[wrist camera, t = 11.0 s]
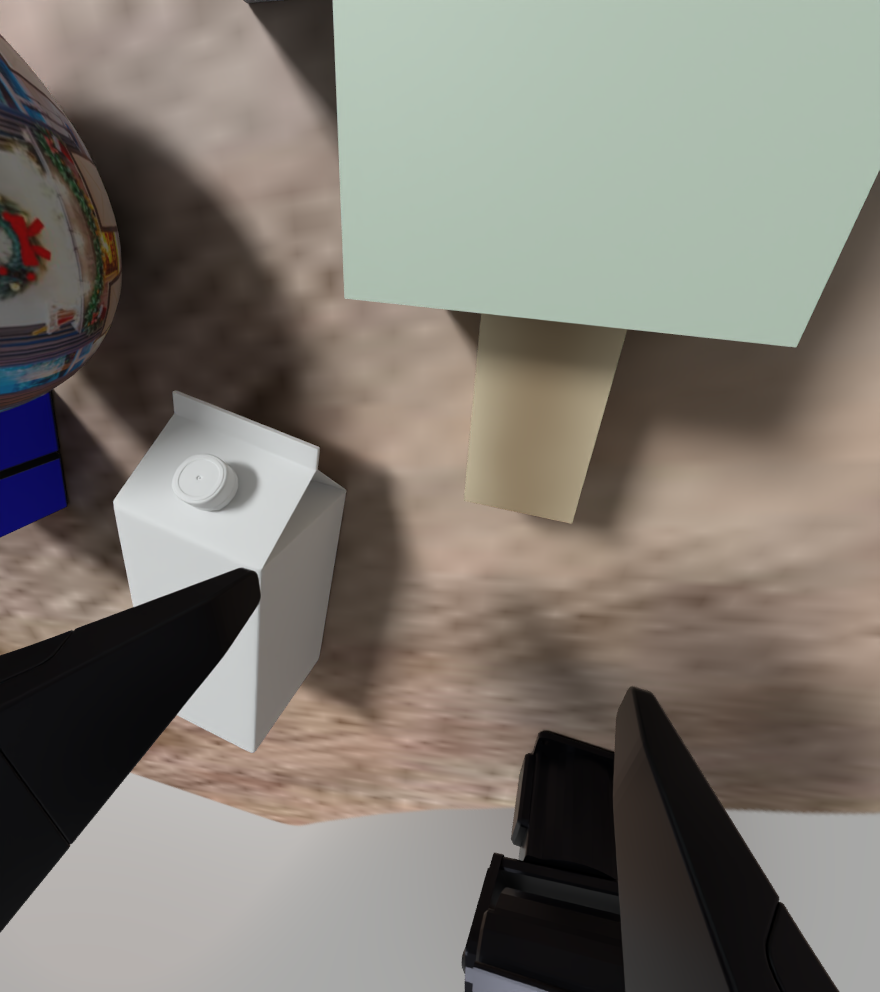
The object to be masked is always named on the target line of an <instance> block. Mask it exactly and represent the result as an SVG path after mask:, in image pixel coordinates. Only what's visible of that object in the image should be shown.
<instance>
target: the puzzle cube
mask: <svg viewBox="0 0 880 992" xmlns="http://www.w3.org/2000/svg"><path fill="white" fill-rule="evenodd" d="M58 450H59V442H58V436H57V429H56V422H55V416H54V409H53V402H52V396H51V391H49V392H48V393H46V394H45V395H43V396H40V397H38V398H36V399H34V400H32V401H30V402H28V403H26V404H23V405H21V406H18V407H15V408H13V409H10V410H7V411H3V412H0V537H2V536H4V535H7V534H9V533H11V532H13V531H15V530H17V529H20V528H22V527H24V526H26V525H28V524H30V523H33V522H35V521H37V520H39V519H41V518H43V517H46V516H48V515H50V514H52V513H54V512H56V511H59V510H61V509H63V508H65V507H67V504H68V503H67V496H66V489H65V483H64V476H63V470H62V463H61V456H60V454H59V453H57V452H56V451H58Z"/></svg>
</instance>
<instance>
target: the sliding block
mask: <svg viewBox="0 0 880 992" xmlns="http://www.w3.org/2000/svg"><path fill="white" fill-rule="evenodd" d="M333 23H334V47H335V72H336V97H337V122H338V147H339V172H340V197H341V222H342V247H343V272H344V297H345V298H346V299H355V300H364V301H373V302H382V303H392V304H401V305H410V306H419V307H428V308H438V309H447V310H456V311H465V312H474V313H484V314H493V315H502V316H511V317H520V318H530V319H539V320H548V321H557V322H566V323H576V324H585V325H594V326H603V327H613V328H622V329H631V330H640V331H649V332H659V333H668V334H677V335H686V336H695V337H705V338H714V339H723V340H732V341H741V342H751V343H760V344H769V345H778V346H787V347H797V345H798V343H799V341H800V338H801V336H802V334H803V332H804V330H805V328H806V326H807V323H808V321H809V319H810V317H811V315H812V313H813V311H814V309H815V306H816V304H817V302H818V300H819V298H820V296H821V294H822V291H823V289H824V287H825V285H826V283H827V281H828V279H829V277H830V274H831V272H832V270H833V268H834V266H835V264H836V262H837V259H838V257H839V255H840V253H841V251H842V249H843V247H844V245H845V242H846V240H847V238H848V236H849V234H850V232H851V230H852V228H853V225H854V223H855V221H856V219H857V217H858V215H859V213H860V210H861V208H862V206H863V204H864V202H865V200H866V198H867V196H868V193H869V191H870V189H871V187H872V185H873V183H874V181H875V178H876V176H877V174H878V172H879V170H880V0H333Z"/></svg>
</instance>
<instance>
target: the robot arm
mask: <svg viewBox="0 0 880 992" xmlns="http://www.w3.org/2000/svg"><path fill="white" fill-rule="evenodd" d="M260 599H261V591H260V585H259V578H258V574H257V573H256V572H255V571H253V570H250V569H247V568H242V567H241V568H237V569H234V570H232V571H229V572H226V573H224V574H221V575H218V576H216V577H213V578H210V579H208V580H205V581H202V582H200V583H197V584H194V585H192V586H189V587H186V588H184V589H181V590H178V591H175V592H173V593H170V594H167V595H165V596H162V597H159V598H157V599H154V600H151V601H149V602H146V603H143V604H141V605H138V606H135V607H133V608H130V609H127V610H125V611H122V612H119V613H117V614H114V615H111V616H108V617H106V618H103V619H100V620H98V621H95V622H92V623H90V624H87V625H84V626H82V627H79V628H77V629H75V630H74V631H73V630H71V631H68V632H65V633H63V634H60V635H57V636H55V637H52V638H49V639H47V640H44V641H41V642H38V643H35V644H33V645H30V646H27V647H24V648H21V649H18V650H15V651H12V652H9V653H6V654H3V655H0V932H1V931H2V930H3V929H4V927H5V926H6V925H7V924H8V923H9V921H10V920H11V919H12V918H13V916H14V915H15V914H16V913H17V911H18V910H19V909H20V908H21V906H22V905H23V904H24V903H25V901H26V900H27V899H28V898H29V897H30V895H31V894H32V893H33V891H34V890H35V889H36V888H37V887H38V886H39V884H40V883H41V882H42V881H43V879H44V878H45V877H46V876H47V874H48V873H49V872H50V871H51V870H52V868H53V867H54V866H55V865H56V863H57V862H58V861H59V860H60V858H61V857H62V856H63V855H64V854H65V852H66V851H67V850H68V849H69V847H70V844H72V843H73V842H74V841H75V840H76V838H77V837H78V836H79V835H80V833H81V832H82V831H83V830H84V828H85V827H86V826H87V825H88V823H89V822H90V821H91V820H92V819H93V817H94V816H95V815H96V814H97V812H98V811H99V810H100V809H101V808H102V806H103V805H104V804H105V803H106V801H107V800H108V799H109V797H110V796H111V795H112V794H113V793H114V791H115V790H116V789H117V788H118V787H119V785H120V784H121V783H122V782H123V780H124V779H125V778H126V777H127V775H128V774H129V773H130V772H131V771H132V769H133V768H134V767H135V766H136V764H137V763H138V762H139V761H140V759H141V758H142V757H143V756H144V755H145V753H146V752H147V751H148V750H149V748H150V747H151V746H152V745H153V743H154V742H155V741H156V740H157V738H158V737H159V736H160V735H161V734H162V732H163V731H164V730H165V729H166V727H167V726H168V725H169V724H170V722H171V721H172V720H173V719H174V718H175V716H176V715H177V714H178V713H179V711H180V710H181V709H182V708H183V706H184V705H185V704H186V703H187V701H188V700H189V699H190V698H191V697H192V695H193V694H194V693H195V692H196V690H197V689H198V688H199V687H200V685H201V684H202V683H203V682H204V681H205V679H206V678H207V677H208V676H209V674H210V673H211V672H212V671H213V669H214V668H215V667H216V666H217V664H218V663H219V662H220V661H221V659H222V658H223V657H224V655H225V654H226V653H227V651H228V650H229V648H230V647H231V645H232V644H233V642H234V641H235V639H236V638H237V636H238V635H239V633H240V632H241V630H242V629H243V627H244V626H245V624H246V623H247V621H248V620H249V618H250V617H251V615H252V614H253V612H254V611H255V609H256V608H257V606H258V604H259V602H260ZM511 840H512V842H513V844H514V845H517V846H520V853H519V860H517V859H512V858H508V857H504V855H503V854H498V853H494V854H493V857H492V861H491V864H490V868H488V870H487V873H486V877H485V880H484V884H483V887H482V891H481V894H480V898H479V901H478V905H477V908H476V912H475V915H474V919H473V922H472V926H471V929H470V933H469V937H468V940H467V944H466V947H465V950H464V952H463V955H462V968H463V971H464V973H465V992H839V990H838V989H837V987H836V986H835V985H834V983H833V981H832V980H831V978H830V977H829V975H828V974H827V972H826V970H825V969H824V967H823V966H822V964H821V963H820V961H819V960H818V958H817V956H816V955H815V953H814V952H813V950H812V949H811V947H810V945H809V944H808V942H807V941H806V939H805V938H804V936H803V935H802V933H801V931H800V930H799V928H798V926H797V925H796V923H795V922H794V920H793V918H792V917H791V915H790V914H789V912H788V910H787V909H786V907H785V906H784V904H783V903H781V902H779V896H778V895H777V893H776V892H775V890H774V888H773V886H772V885H771V883H770V882H769V880H768V878H767V877H766V875H765V874H764V872H763V870H762V869H761V867H760V865H759V864H758V862H757V861H756V859H755V858H754V856H753V854H752V853H751V851H750V850H749V848H748V846H747V845H746V843H745V841H744V840H743V838H742V836H741V835H740V833H739V832H738V830H737V829H736V827H735V825H734V823H733V822H732V820H731V819H730V817H729V816H728V814H727V812H726V811H725V809H724V807H723V806H722V804H721V802H720V801H719V799H718V798H717V796H716V794H715V793H714V791H713V790H712V788H711V786H710V785H709V783H708V781H707V780H706V778H705V777H704V775H703V773H702V772H701V770H700V769H699V767H698V765H697V764H696V762H695V760H694V759H693V757H692V756H691V754H690V752H689V751H688V749H687V748H686V746H685V744H684V743H683V741H682V739H681V738H680V736H679V735H678V733H677V731H676V730H675V728H674V727H673V725H672V723H671V722H670V720H669V719H668V717H667V715H666V714H665V712H664V710H663V709H662V707H661V706H660V704H659V702H658V701H657V699H656V698H655V696H654V695H653V694H652V693H651V692H650V691H647V690H644V689H641V688H637V687H634V686H632V687H630V688H629V689H628V690H627V692H626V695H625V697H624V699H623V701H622V703H621V705H620V707H619V709H618V712H617V717H616V733H615V754H614V753H611V752H608V751H605V750H601V749H598V748H595V747H592V746H589V745H586V744H583V743H580V742H577V741H574V740H571V739H568V738H565V737H561V736H558V735H555V734H552V733H549V732H545V731H543V732H540V733H539V734H538V737H537V740H536V743H535V746H534V749H533V752H532V754H531V753H528V754H526V755H525V758H524V761H523V765H522V768H521V771H520V775H519V782H518V790H517V797H516V805H515V812H514V820H513V828H512V835H511Z"/></svg>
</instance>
